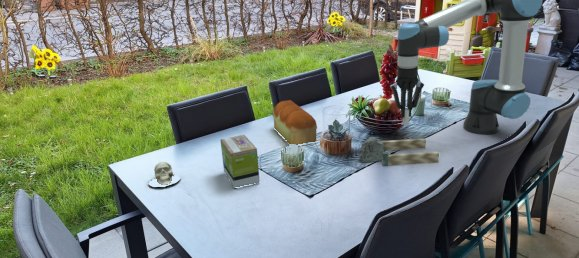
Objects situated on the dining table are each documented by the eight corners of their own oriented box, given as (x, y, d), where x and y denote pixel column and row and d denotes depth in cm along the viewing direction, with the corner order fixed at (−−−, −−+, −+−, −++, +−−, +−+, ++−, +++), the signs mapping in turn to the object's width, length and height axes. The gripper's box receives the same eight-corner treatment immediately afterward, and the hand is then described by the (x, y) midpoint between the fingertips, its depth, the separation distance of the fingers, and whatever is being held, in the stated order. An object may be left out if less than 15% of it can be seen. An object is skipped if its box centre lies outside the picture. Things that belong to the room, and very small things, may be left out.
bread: (317, 143, 189) (317, 112, 184) (291, 148, 185) (290, 116, 180) (297, 126, 211) (296, 97, 206) (273, 130, 208) (271, 101, 202)
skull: (184, 183, 156) (161, 168, 151) (165, 203, 157) (142, 188, 152) (182, 168, 167) (162, 154, 162) (165, 187, 167) (144, 173, 163)
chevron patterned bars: (424, 147, 181) (425, 135, 179) (438, 162, 166) (439, 150, 164) (373, 150, 180) (373, 138, 178) (383, 166, 165) (383, 153, 163)
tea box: (223, 173, 165) (219, 138, 159) (247, 168, 168) (245, 133, 163) (234, 190, 152) (230, 152, 146) (260, 184, 155) (257, 147, 150)
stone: (374, 140, 164) (376, 130, 173) (354, 154, 168) (357, 143, 177) (390, 158, 165) (390, 147, 174) (369, 171, 169) (371, 160, 178)
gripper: (421, 62, 163) (418, 120, 172) (387, 65, 163) (386, 122, 172) (428, 67, 156) (425, 126, 165) (393, 69, 156) (392, 129, 165)
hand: (405, 124), depth 168 cm, fingers closed
